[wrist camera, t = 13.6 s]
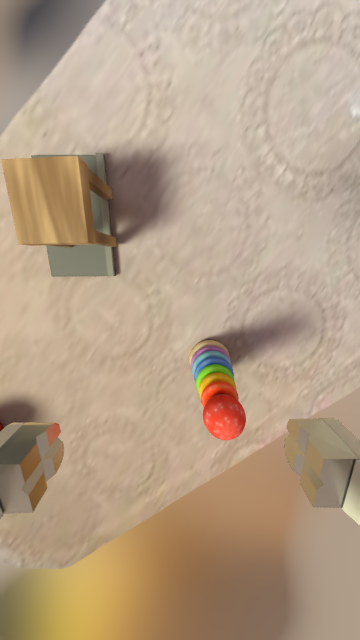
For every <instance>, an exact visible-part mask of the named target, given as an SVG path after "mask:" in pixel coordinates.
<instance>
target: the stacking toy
mask: <svg viewBox="0 0 360 640" xmlns="http://www.w3.org/2000/svg"><path fill="white" fill-rule="evenodd" d="M189 364H190V367H191V371H192V374H193V377H194V379H195V383H196V387H197V390H198V392H199V396H200V398H201V403H202V405H203V407H204V410H203V420H204V424H205V426H206V428H207V430H208V431H209V432H210V433H211V434H212V435H213V436H214V437H216V438H218V439H221V440H231V439H234V438H236V437H238V436H239V435H240V434H241V433H242V431H243V429H244V427H245V423H246V416H245V412H244V409H243V407H242V405H241V404H240V403H239V401H238V394H237V391H236V385H235V383H234V373H233V369H232V364H231V359H230V355H229V352H228V350H227V348H226V347H225V346H224V345H223V344H221V343H220V342H217V341H214V340H206V341H202V342H200V343H198V344H197V345H195V346H194V347H193V349H192V350H191V352H190V355H189Z"/></svg>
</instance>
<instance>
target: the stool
mask: <svg viewBox="0 0 360 640" xmlns="http://www.w3.org/2000/svg"><path fill="white" fill-rule="evenodd" d="M1 161H2V166H3V171H4V176H5V181H6V186H7V191H8V195H9V200H10V205H11V210H12V215H13V220H14V225H15V230H16V235H17V240H18V244H23V245H50V246H57V247H73V245H87V244H97V245H102V246H107V247H117V244H116V237H113V236H110V235H107V234H104V233H101V232H98V231H95V230H94V223H93V214H92V205H91V196H90V190H91V191H93V192H94V193H95V194H97V195H98V196H100V197H101V198H102V199H104V200H108V199H113V197H112V189H111V188H110V187H109V186H108V185H107V184H105V183H104V182H103V181H102V180H101V179H100V178H99V177H98V176H97V175H95V174H94V173H93V172H92V171H91V170H90V169H89V168H88V167H87V164H86V163H85V162H84V161H83V160H82V159H81V158H80V157H79V156H61V157H40V158H20V159H1Z"/></svg>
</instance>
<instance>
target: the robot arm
mask: <svg viewBox="0 0 360 640" xmlns="http://www.w3.org/2000/svg"><path fill="white" fill-rule="evenodd" d="M287 430H288V431H289V433H290V434H289V435H288V436H287V437H286V438H285V445H284V448H285V454H286V458H287V460H288V463H289V465H290V467H291V468H292V470H293V471H294V472H296V473H297V474H298V475H299V476H301V480H300V485H301V486H302V488H303V490H304V492H305V493H306V495H307V497H308V499H309V501H310V502H311V504H312V506H313V507H330V508H331V507H333V508H343V511H345V512H346V513H347V514H348V515H349V516H350V517H351V518H352V519H353V520H354V521H356V522H357V523H358V524H359V525H360V441H359V440H358V439H357V438H356V437H355V436H354V435H353V434H352V433H351V432H350V431H349V430H348V429H347V428H346V427H345V426H344V425H343V424H342V423H341V422H340V421H339V420H337V419H335V418H318V419H317V418H314V419H290V420H289V421H288V423H287ZM60 432H61V430H60V427H59V424H57V423H40V422H27V423H11V424H9V425H7V426H6V427H5V428H4V429H3V430H2V431H0V518H1V517H3V514H10V513H29V512H34V510H35V508H36V506H37V505H38V503H39V501H40V500H41V498H42V496H43V495H44V493H45V491H46V490H47V480H49V479H50V478H51V477H52V476H54V475H55V474H56V472H57V471H58V469H59V467H60V465H61V462H62V459H63V456H64V445H63V442H62V441H61V440H60V439H59V438H58V436H59V434H60Z"/></svg>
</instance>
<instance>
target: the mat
mask: <svg viewBox="0 0 360 640" xmlns="http://www.w3.org/2000/svg"><path fill="white" fill-rule="evenodd" d="M61 156H79V157H80V158H81V159H82V160H83V161H84V162H85V163H86V164H87V167H88V168H89V169H90V170H91V171H92V172H93V173H94V174H95V175H97V176H98V177H99V178H100V179H101V180H102V181H103V182H104V183H105V184H107V177H106V166H105V156H104V155H103V153H96V155H39V156H31V158H40V157H61ZM90 196H91V205H92V214H93V223H94V230H95V231H98V232H101V233H104V234H107V235H110V236H112V233H111V222H110V211H109V199H108V200H104V199H102V198H101V197H100V196H98V195H97V194H95V193H94V192H93V191H91V190H90ZM46 246H47V252H48V257H49V263H50V269H51V275H52V277H55V276H115V266H114V255H113V247H107V246H102V245H97V244H87V245H73V247H57V246H50V245H46Z"/></svg>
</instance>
